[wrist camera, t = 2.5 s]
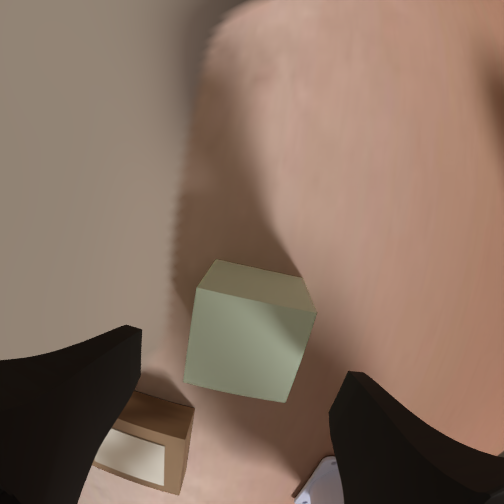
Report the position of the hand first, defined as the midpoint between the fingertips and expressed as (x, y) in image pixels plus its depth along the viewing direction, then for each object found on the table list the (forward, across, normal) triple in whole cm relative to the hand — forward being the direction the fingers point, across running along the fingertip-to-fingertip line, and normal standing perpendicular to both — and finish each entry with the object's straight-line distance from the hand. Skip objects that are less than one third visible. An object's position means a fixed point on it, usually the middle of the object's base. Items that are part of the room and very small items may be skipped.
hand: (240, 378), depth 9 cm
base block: (+6, +6, +12) cm, 15 cm away
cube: (+6, 0, 0) cm, 6 cm away
